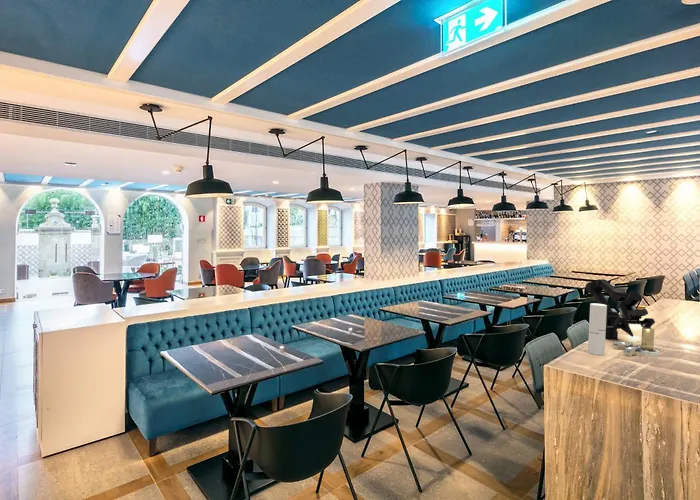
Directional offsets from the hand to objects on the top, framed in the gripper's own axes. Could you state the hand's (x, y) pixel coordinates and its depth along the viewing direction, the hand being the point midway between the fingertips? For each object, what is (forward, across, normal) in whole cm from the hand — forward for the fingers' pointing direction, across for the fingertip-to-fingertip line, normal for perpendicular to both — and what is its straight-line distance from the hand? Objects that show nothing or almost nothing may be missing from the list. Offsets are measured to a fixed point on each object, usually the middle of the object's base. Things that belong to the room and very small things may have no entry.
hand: (641, 336), depth 201 cm
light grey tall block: (+10, -27, +1) cm, 29 cm away
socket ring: (+9, 0, +2) cm, 9 cm away
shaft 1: (+4, -8, +7) cm, 12 cm away
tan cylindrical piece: (+9, 0, +2) cm, 9 cm away
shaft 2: (+11, -10, 0) cm, 15 cm away
